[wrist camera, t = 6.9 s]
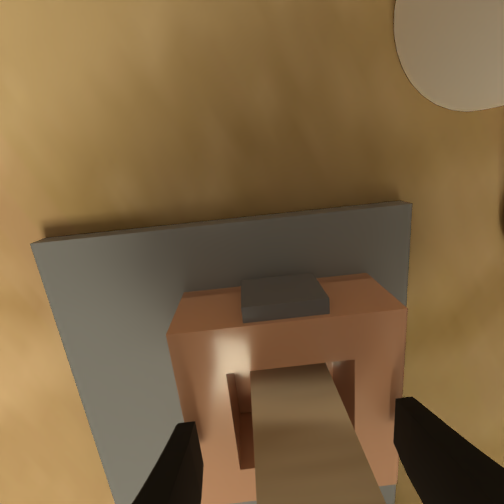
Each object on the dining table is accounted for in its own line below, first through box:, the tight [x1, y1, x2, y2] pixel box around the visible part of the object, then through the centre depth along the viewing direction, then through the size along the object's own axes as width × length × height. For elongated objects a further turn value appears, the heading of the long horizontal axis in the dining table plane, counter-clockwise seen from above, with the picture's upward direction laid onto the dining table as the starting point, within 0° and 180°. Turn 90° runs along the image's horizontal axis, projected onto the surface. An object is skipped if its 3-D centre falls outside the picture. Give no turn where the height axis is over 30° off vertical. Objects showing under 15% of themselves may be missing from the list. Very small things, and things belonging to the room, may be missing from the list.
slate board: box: [30, 201, 412, 504], centre depth 16 cm, size 22×16×1 cm
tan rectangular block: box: [250, 363, 386, 504], centre depth 10 cm, size 3×3×9 cm
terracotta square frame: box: [166, 273, 408, 504], centre depth 13 cm, size 9×8×3 cm
